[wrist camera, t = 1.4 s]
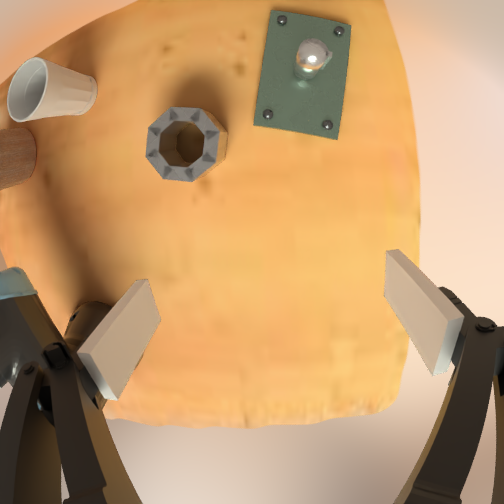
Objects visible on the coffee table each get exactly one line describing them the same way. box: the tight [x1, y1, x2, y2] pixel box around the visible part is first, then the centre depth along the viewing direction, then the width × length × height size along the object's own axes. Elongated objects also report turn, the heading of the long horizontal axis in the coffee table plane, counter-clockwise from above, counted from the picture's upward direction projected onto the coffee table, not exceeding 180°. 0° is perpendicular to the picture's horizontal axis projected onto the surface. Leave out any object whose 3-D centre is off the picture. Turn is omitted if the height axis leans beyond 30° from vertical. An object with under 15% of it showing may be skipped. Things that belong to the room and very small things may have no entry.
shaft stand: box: [253, 10, 351, 140], centre depth 25 cm, size 10×16×9 cm, turn 172°
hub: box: [146, 107, 228, 182], centre depth 31 cm, size 8×8×6 cm
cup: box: [7, 57, 98, 122], centre depth 26 cm, size 8×8×12 cm
